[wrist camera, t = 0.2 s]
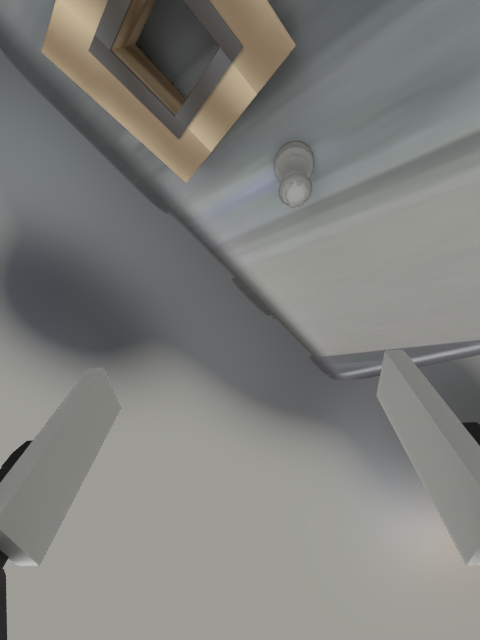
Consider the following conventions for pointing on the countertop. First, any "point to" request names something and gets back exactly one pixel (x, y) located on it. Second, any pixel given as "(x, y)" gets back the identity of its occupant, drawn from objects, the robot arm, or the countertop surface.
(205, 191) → the countertop surface
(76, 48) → the socket block
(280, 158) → the rook chess piece
